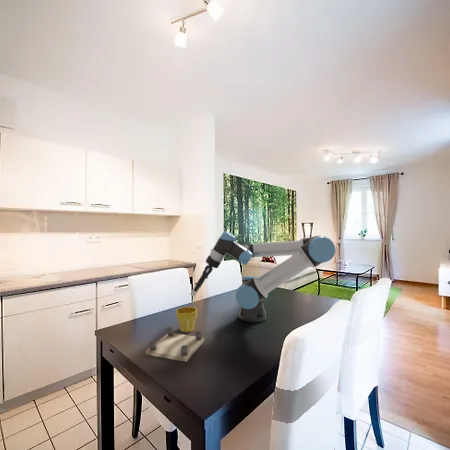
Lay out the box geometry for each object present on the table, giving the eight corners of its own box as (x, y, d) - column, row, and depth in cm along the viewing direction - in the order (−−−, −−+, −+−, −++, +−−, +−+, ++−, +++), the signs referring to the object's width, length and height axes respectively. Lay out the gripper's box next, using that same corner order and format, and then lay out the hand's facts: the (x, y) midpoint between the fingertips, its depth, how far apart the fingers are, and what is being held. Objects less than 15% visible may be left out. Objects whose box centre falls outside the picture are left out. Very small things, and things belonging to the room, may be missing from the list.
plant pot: (171, 332, 122) (172, 311, 122) (183, 324, 132) (183, 305, 132) (190, 335, 118) (190, 314, 118) (200, 327, 128) (200, 308, 128)
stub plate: (204, 341, 113) (204, 331, 113) (186, 361, 96) (186, 349, 96) (168, 335, 118) (168, 326, 118) (145, 354, 101) (145, 343, 101)
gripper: (213, 250, 146) (194, 280, 149) (204, 259, 121) (182, 295, 124) (224, 257, 146) (205, 287, 149) (217, 268, 121) (195, 303, 124)
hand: (195, 291), depth 136 cm, fingers open, 13 cm apart
